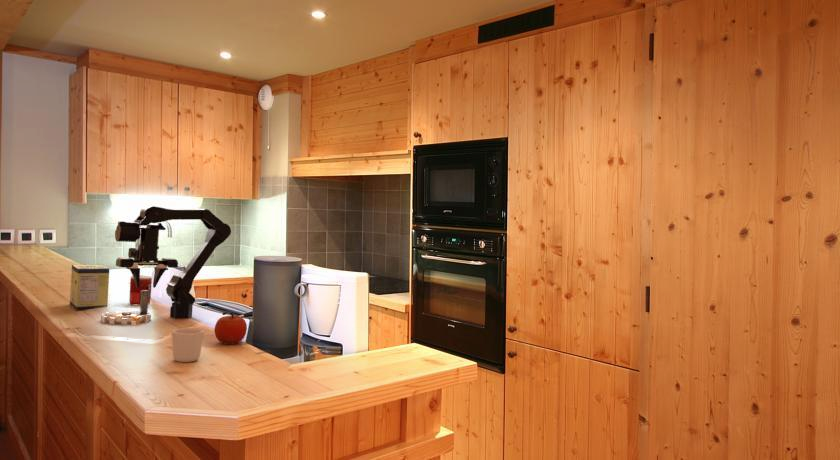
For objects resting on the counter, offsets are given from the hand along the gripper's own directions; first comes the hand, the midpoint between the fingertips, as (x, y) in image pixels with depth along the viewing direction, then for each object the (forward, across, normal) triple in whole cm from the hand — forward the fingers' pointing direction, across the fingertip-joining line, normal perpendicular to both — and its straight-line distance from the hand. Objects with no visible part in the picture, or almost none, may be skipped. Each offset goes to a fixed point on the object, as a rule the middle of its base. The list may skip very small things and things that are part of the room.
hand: (145, 287), depth 199 cm
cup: (+12, +5, +54) cm, 55 cm away
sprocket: (+11, +6, 0) cm, 12 cm away
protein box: (+13, +8, -38) cm, 41 cm away
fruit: (+12, -13, +40) cm, 44 cm away
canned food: (+12, -11, -40) cm, 43 cm away
